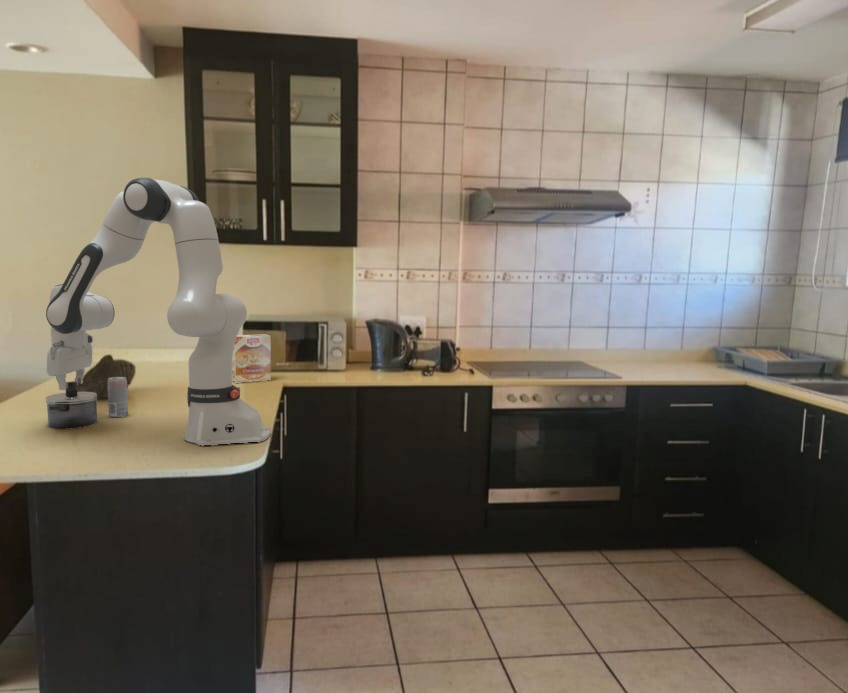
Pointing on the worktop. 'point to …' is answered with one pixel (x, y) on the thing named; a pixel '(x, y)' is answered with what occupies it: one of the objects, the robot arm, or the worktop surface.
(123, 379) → the energy drink
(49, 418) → the pot
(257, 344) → the coffeecake box
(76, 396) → the lid
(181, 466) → the worktop surface
